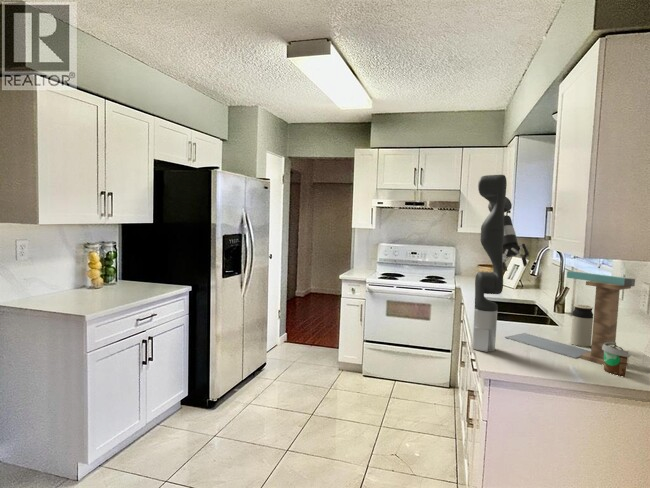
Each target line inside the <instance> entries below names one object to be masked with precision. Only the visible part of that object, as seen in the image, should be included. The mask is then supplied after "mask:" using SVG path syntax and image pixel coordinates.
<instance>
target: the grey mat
mask: <svg viewBox="0 0 650 488" xmlns="http://www.w3.org/2000/svg"><path fill="white" fill-rule="evenodd" d="M504 338H505V339H507V340H511V341H514V342H518V343H522V344H526V345H528V346H532V347H535V348H539V349H540V350H541V349H542V350H546V351H548V352H550V353H551V352H552V353H554V354H558V355H562V356H565V357H568V358H572V359H579V358H581V355H582V354H586V353H589V352H591V350H590V349H589V350H588V349H585V348H582V347H579V346H575V345H574V346H573V345H570V344H568V343H562V342H560V341H556V340H552V339H548V338H544V337H541V336H537V335H534V334H530V333H527V332H523V333H517V334H513V335H509V336H504Z"/></svg>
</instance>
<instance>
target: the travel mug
mask: <svg viewBox="0 0 650 488" xmlns="http://www.w3.org/2000/svg"><path fill="white" fill-rule="evenodd" d="M573 306H574V310H573V311H572V318H571V333H570V344H572V345H574V346H576V347H580V348H582V347H583V348H589V347H591V346H592V333H593V320H594V312H593V310H594V307H593V306H591V305H587V304H580V303H579V304H573Z"/></svg>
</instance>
